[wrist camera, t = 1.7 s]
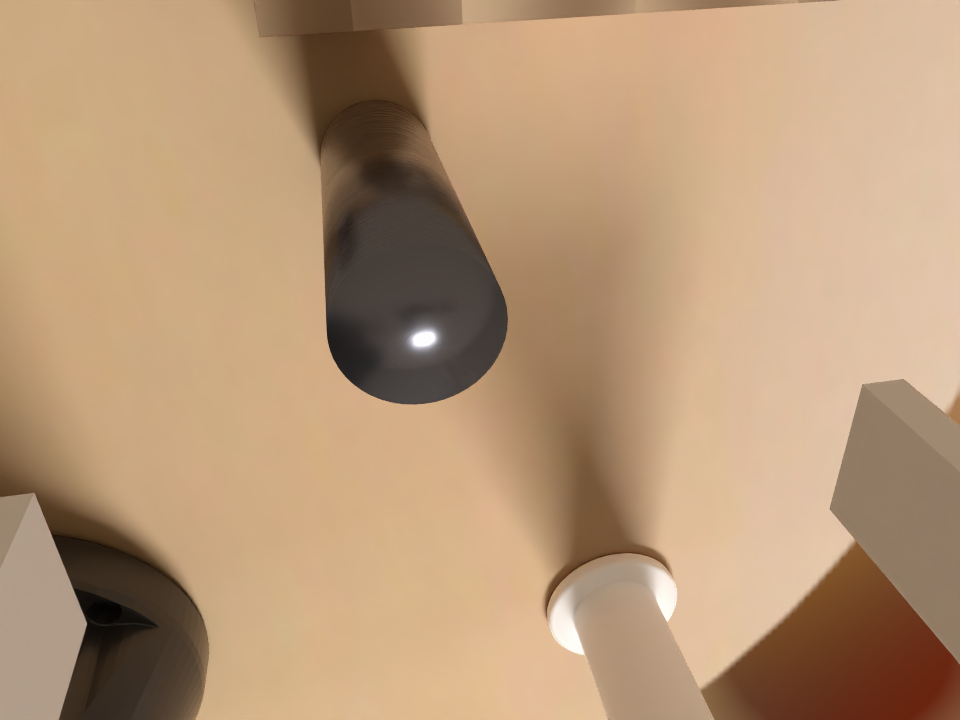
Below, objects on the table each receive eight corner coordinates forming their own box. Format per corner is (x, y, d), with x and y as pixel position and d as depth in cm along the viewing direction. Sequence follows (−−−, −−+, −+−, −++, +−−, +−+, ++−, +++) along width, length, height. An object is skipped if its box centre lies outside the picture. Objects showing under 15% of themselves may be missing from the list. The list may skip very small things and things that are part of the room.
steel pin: (328, 216, 29) (338, 414, 18) (313, 104, 27) (314, 254, 16) (436, 205, 30) (508, 392, 19) (429, 96, 28) (506, 234, 17)
